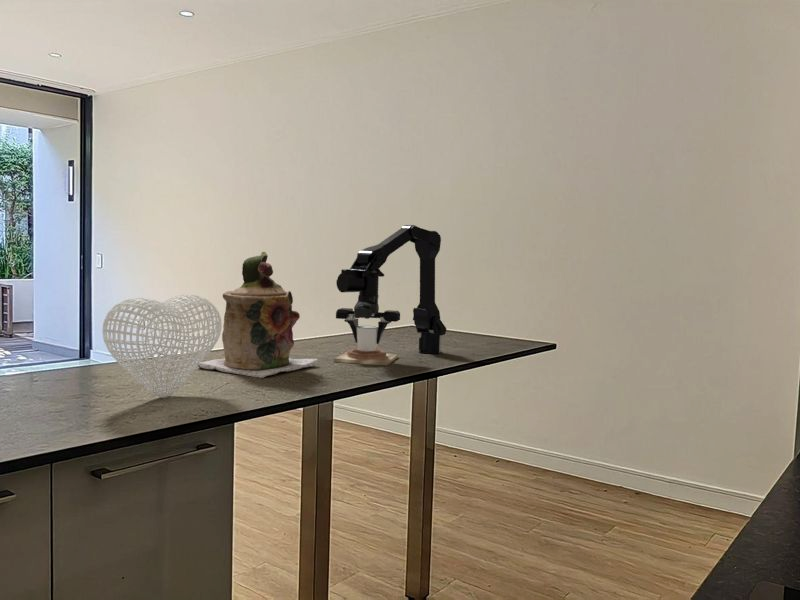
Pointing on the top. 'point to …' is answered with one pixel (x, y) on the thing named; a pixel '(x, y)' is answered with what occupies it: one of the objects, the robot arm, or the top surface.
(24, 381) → the top surface
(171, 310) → the heart
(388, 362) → the collar board
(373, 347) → the white cylinder
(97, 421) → the top surface
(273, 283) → the cookie jar
